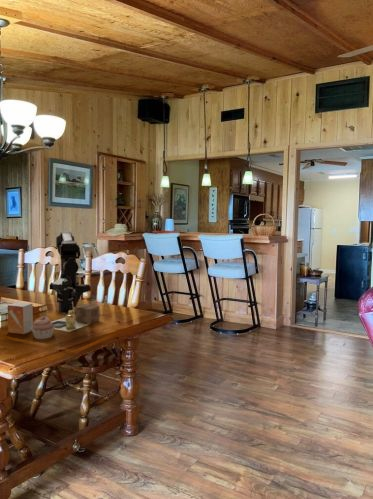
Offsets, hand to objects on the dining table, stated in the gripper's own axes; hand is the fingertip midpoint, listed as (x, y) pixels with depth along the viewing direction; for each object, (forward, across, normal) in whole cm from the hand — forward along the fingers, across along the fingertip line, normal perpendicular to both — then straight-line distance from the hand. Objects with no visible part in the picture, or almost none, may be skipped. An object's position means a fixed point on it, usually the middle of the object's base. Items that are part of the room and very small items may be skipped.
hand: (70, 306), depth 180 cm
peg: (+10, 0, 0) cm, 10 cm away
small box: (+11, -16, -13) cm, 24 cm away
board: (+11, -6, +6) cm, 14 cm away
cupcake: (+11, -2, -14) cm, 18 cm away
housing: (+10, 0, +12) cm, 16 cm away
